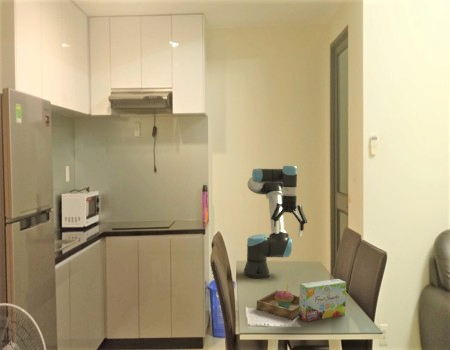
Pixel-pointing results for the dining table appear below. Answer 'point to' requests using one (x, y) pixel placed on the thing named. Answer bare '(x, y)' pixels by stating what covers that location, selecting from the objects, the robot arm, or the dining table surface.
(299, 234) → the robot arm
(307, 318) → the snack box
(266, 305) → the walnut tray
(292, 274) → the dining table surface
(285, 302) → the cupcake
